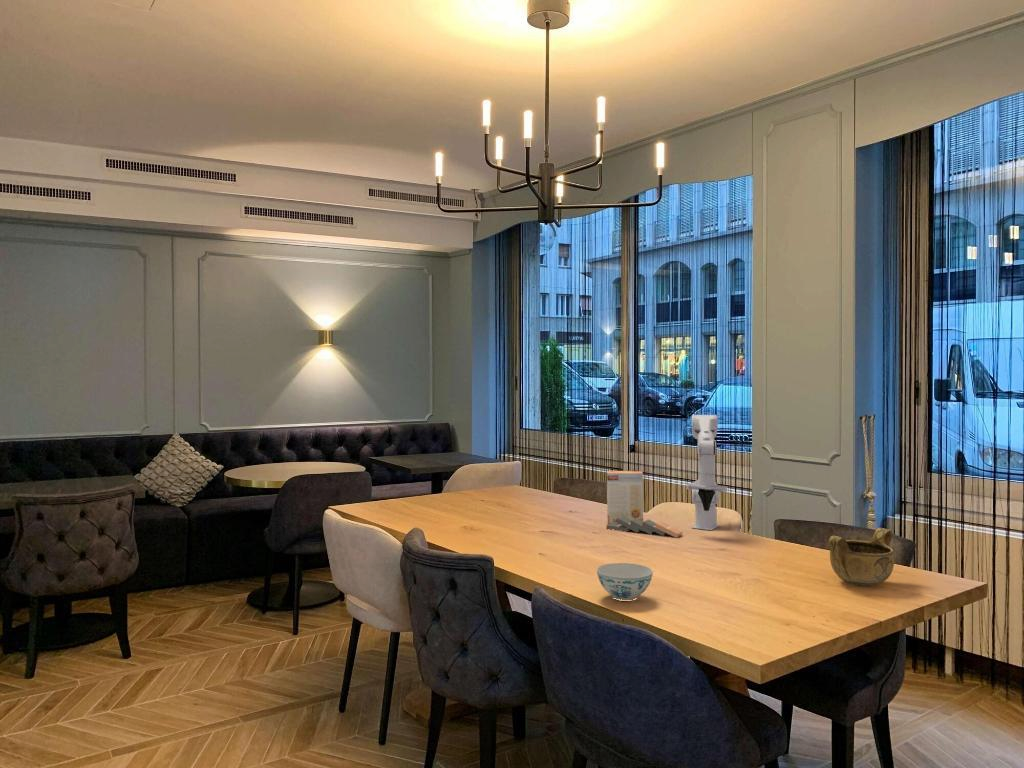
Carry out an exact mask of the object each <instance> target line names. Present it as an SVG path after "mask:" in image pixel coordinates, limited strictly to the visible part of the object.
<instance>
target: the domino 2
mask: <svg viewBox="0 0 1024 768" xmlns="http://www.w3.org/2000/svg"><path fill="white" fill-rule="evenodd" d="M643 522H644V520H643V521H641V520H639V519H637V518H636V519H634V520H632V521H631V523H630V525H632V526H634V527H636V528H638V529H640V530H642V531H641V532H645V533H647V534H648V535H650V534H652V533H654V534H656V533H655V532H654V531H652V530H650V529H648V528H646V527H644V526H642V524H643ZM652 535H653V534H652Z"/></svg>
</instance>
